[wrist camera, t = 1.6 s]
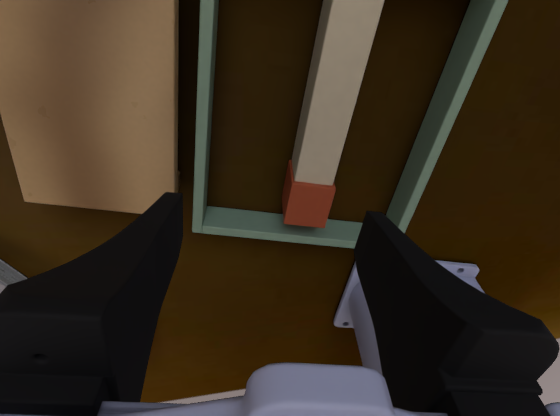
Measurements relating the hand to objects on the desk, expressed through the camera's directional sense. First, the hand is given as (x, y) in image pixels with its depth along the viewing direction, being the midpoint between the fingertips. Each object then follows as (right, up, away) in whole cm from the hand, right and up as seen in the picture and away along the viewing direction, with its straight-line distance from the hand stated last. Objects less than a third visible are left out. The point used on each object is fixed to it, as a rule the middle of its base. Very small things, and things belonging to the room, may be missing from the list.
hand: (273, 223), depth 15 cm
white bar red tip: (+3, +6, +6) cm, 9 cm away
